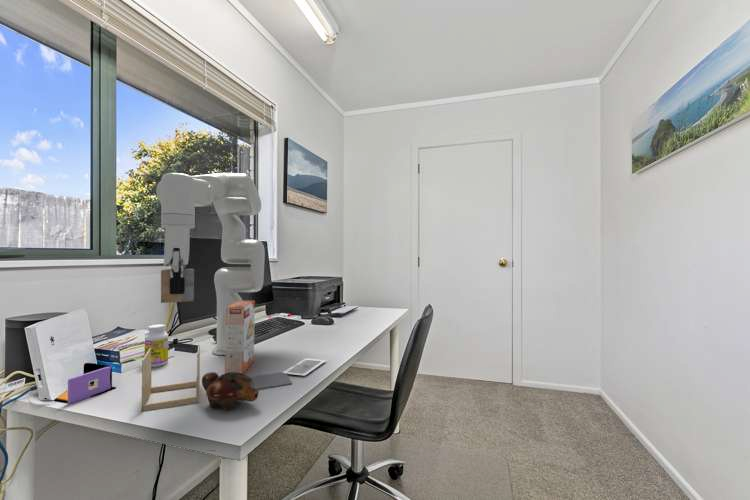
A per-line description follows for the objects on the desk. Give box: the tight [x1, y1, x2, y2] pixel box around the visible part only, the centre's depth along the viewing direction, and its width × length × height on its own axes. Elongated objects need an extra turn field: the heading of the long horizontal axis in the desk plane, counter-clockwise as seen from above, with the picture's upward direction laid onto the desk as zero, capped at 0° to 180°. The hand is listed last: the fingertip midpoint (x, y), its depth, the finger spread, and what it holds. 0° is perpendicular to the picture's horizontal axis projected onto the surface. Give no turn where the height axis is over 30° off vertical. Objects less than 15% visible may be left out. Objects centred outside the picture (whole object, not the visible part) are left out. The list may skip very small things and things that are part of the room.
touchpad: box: [281, 357, 327, 376], centre depth 111 cm, size 8×15×2 cm, turn 163°
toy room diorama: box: [53, 362, 117, 404], centre depth 90 cm, size 12×12×7 cm
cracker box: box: [224, 300, 256, 375], centre depth 111 cm, size 14×6×21 cm, turn 7°
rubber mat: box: [250, 371, 293, 391], centre depth 100 cm, size 10×10×1 cm
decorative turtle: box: [201, 371, 260, 412], centre depth 83 cm, size 10×15×8 cm, turn 79°
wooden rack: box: [141, 342, 201, 412], centre depth 88 cm, size 12×12×12 cm
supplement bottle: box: [144, 323, 169, 368], centre depth 114 cm, size 7×7×13 cm
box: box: [160, 268, 195, 304], centre depth 89 cm, size 5×7×8 cm
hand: (178, 291), depth 89 cm, fingers closed on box, 5 cm apart
